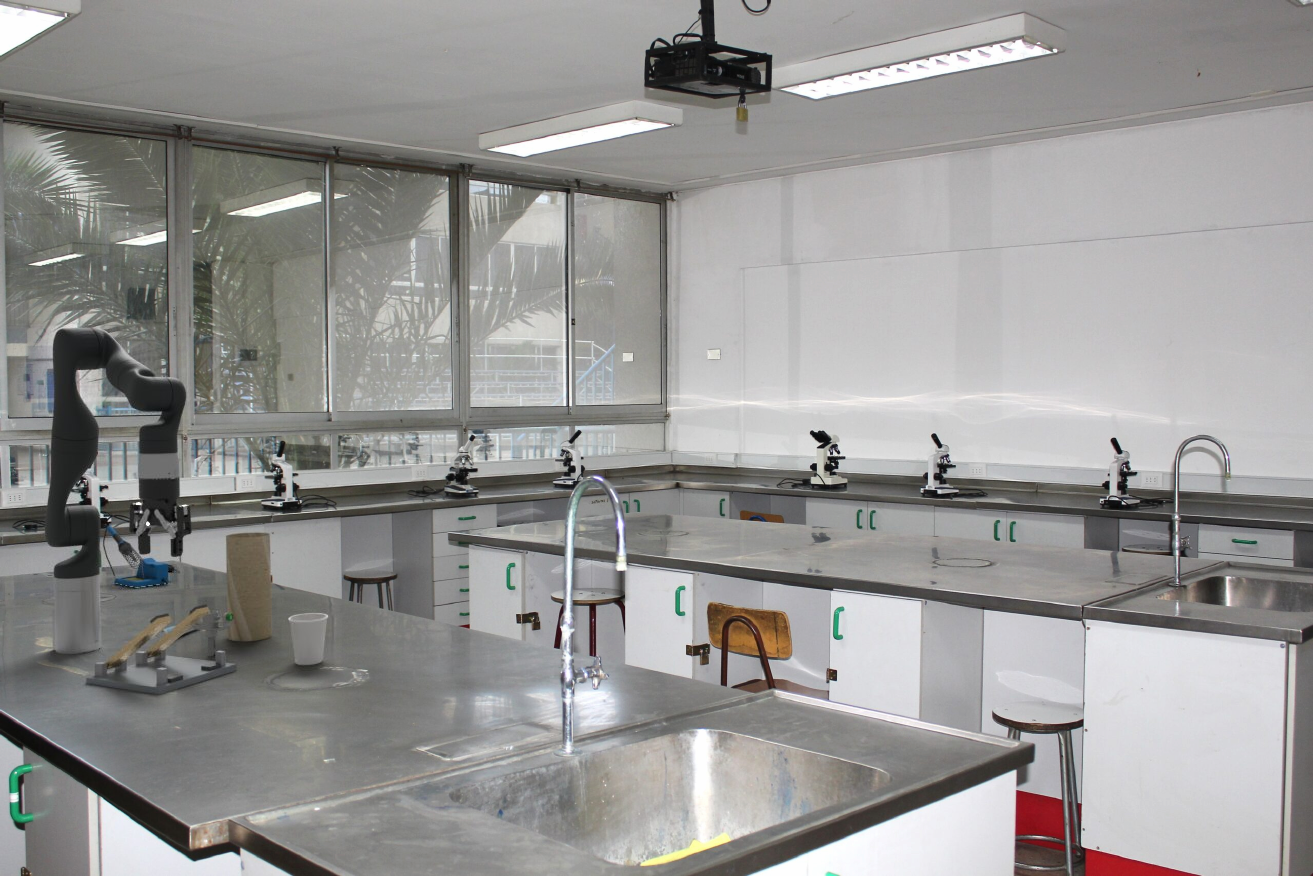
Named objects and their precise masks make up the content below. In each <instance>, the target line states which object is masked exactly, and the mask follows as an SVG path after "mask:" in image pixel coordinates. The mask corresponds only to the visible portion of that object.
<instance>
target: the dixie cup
mask: <svg viewBox="0 0 1313 876" xmlns="http://www.w3.org/2000/svg"><path fill="white" fill-rule="evenodd" d="M328 618H329V615H328V614H326V613H320V612H319V613H318V612H309V613H299V614H294V615H291V616H290V617H288V618H287V619H288V621H289V622H288V623H289V627H290V629H289V630H290V633H291V634H290V635H291V640H292V641H291V642H292V649H293V655H294V662H295V664H296V665H298V666H310V665H311V666H312V665H316V664H320V663H323V659H324V658H323V657H324V649H325V641H326V640H325V639H326V633H327V632H326V631H327V624H328V623H327V621H328Z"/></svg>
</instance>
